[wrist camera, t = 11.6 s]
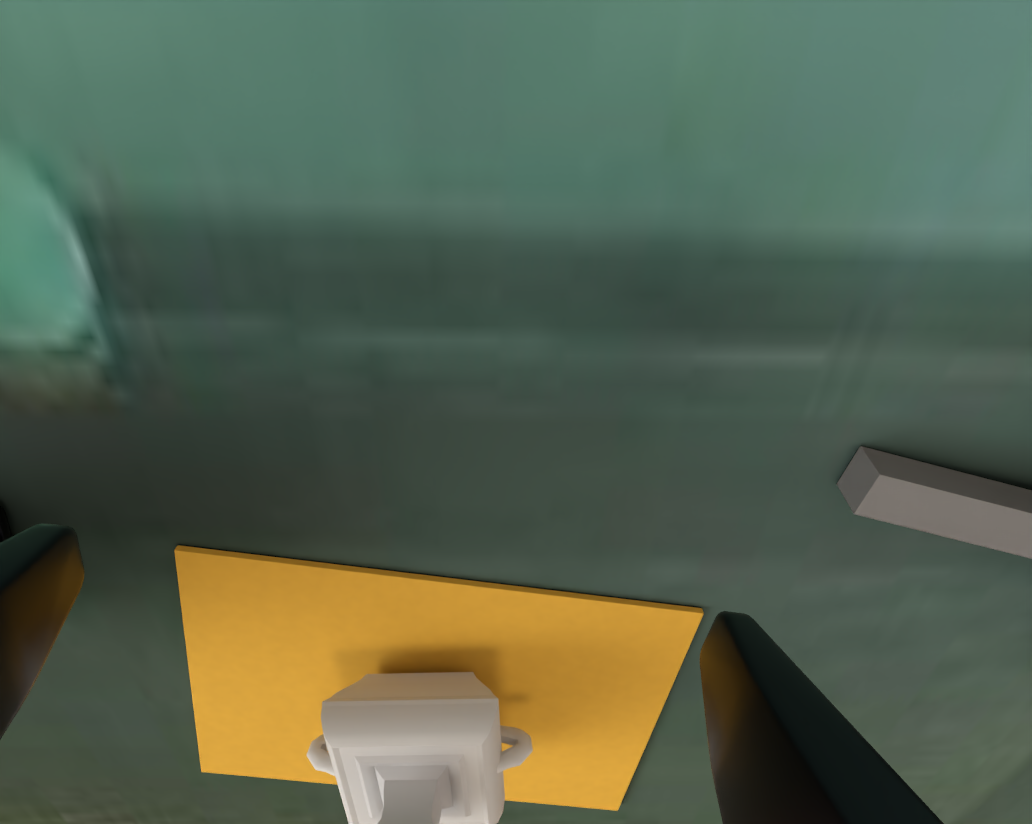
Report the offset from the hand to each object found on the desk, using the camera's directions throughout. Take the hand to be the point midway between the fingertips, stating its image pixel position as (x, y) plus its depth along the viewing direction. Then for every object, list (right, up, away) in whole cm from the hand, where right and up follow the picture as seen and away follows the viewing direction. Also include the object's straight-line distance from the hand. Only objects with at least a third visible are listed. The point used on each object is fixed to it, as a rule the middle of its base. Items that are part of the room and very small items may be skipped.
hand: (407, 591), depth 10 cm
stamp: (-2, -10, +20) cm, 22 cm away
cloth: (-2, -10, +20) cm, 22 cm away
